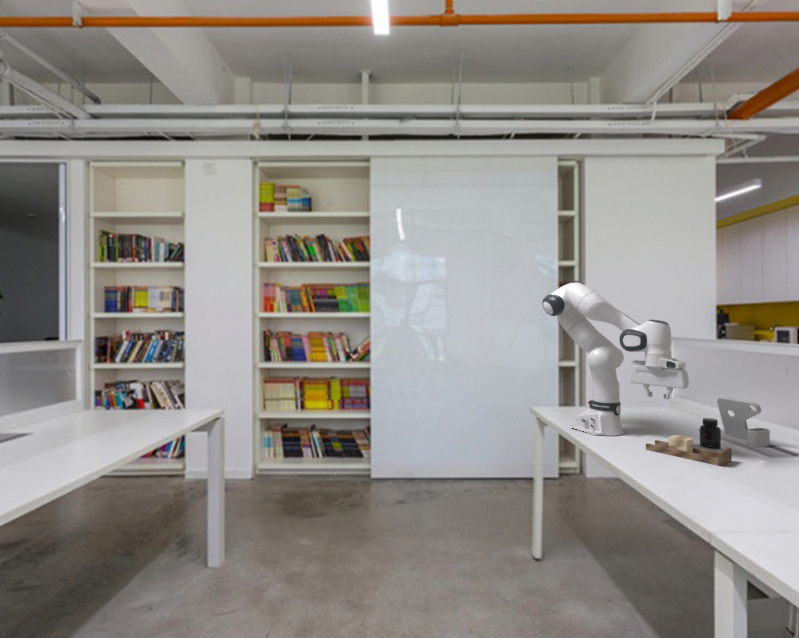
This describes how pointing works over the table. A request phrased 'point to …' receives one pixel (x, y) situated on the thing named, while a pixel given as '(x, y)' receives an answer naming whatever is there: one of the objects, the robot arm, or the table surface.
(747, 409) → the phone holder
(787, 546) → the table surface
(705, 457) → the walnut chute
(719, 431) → the supplement bottle
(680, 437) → the maple block
